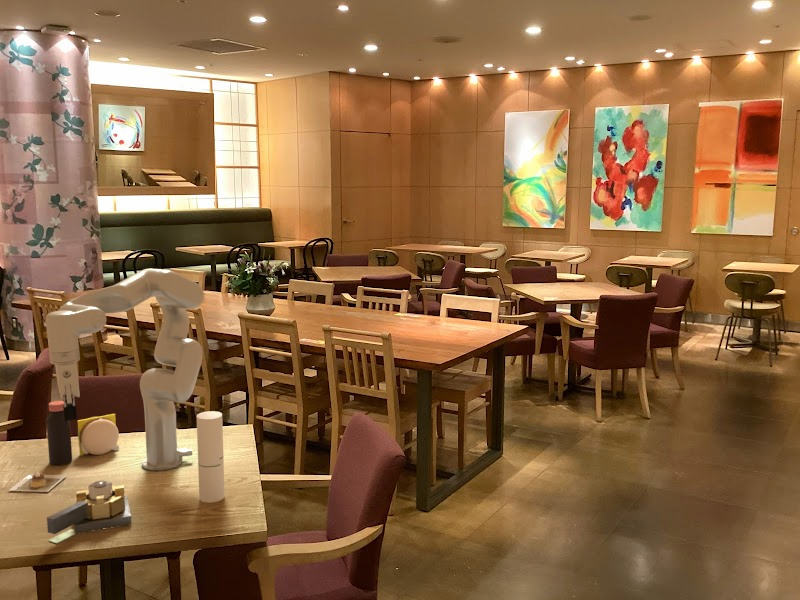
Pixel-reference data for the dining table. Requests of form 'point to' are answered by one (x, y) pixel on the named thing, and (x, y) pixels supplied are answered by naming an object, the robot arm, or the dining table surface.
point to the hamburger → (98, 435)
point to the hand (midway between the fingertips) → (70, 419)
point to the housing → (100, 523)
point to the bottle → (58, 435)
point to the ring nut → (87, 509)
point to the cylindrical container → (210, 456)
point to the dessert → (36, 481)
